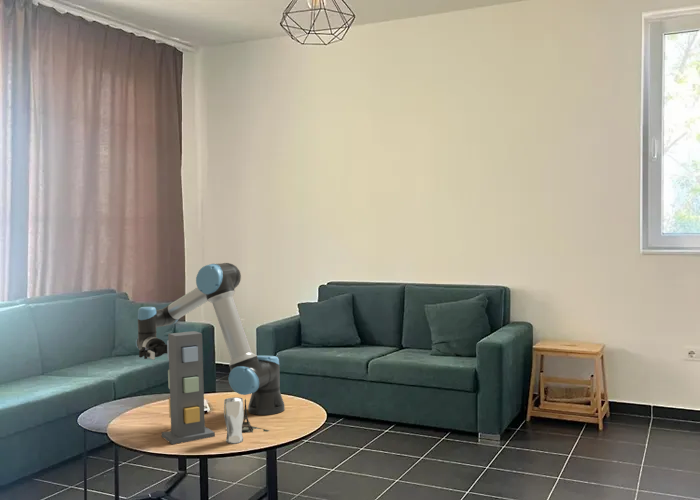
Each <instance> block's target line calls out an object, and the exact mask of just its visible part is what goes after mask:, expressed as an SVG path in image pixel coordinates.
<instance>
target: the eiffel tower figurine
mask: <svg viewBox="0 0 700 500" xmlns="http://www.w3.org/2000/svg"><path fill="white" fill-rule="evenodd" d="M247 409H248V408H247V400H246V398H244V416H243V424H242V434H246V433H247V434H248V433H254V430H263V432H270V431H271V430H269V429H265V428H261V427H257V426H252V424H251V422H250V420H249V417H248V410H247ZM225 431H226V432H227V428H226V429H225Z"/></svg>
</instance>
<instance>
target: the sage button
mask: <svg viewBox="0 0 700 500" xmlns="http://www.w3.org/2000/svg"><path fill="white" fill-rule="evenodd" d="M167 377H168V378H167V381H168V383H167V384H168V386H167V387H168V389H169V390H170V375H169V369H168V370H167ZM182 387H183V392H184V393H190V392H196V391H199V377H197V376H188V377H182Z"/></svg>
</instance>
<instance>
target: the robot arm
mask: <svg viewBox="0 0 700 500" xmlns="http://www.w3.org/2000/svg"><path fill="white" fill-rule="evenodd" d="M241 280H242V275H241V271H240V269H239V268H238V267H237V265H235V264H233V263H229V262H224V263H221V262H220V263H211V264H207V265H206V264H205V265H204V266H202V267H201V268H200V269H199V270H198V272H197V275H196V277H195V284H196V287H195V288H194V289H192V290H191V291H189V292H187V293H185V294H184V295H183V296H181V297H179V298H177V299H176V300H174V301H173V302H172V303H170V304H168V305H167V306H165V307H163V308H160V309H157V308H156V307H155V306H141V307H139V308H138V309H137V338H136V339H135V347H136V348H137V349H138V350H139V351H138V356H139V357H138V358H143V357H144V359H143V360H148V358H149V359H151V360H155V359H156V358H159V357H161V356H163V355H165V354H167V343H165V341H163V340H162V339H160V338H158V337H157V328H160V327H161V328H162V327H165V326H172V325H174V324H176V323H177V322H178V321H179V319H181V318H182V317H184V316H186V315H187V314H189V313H191V312H193V311H194V310H196V309H197V308H199V307H200V306H203V305H204V304H206V303H207V302H210V303H211V304H212V307H213V310H214V311H215V315H216V317H217V321H218V324H219V327H220V331H221V332H222V336H223V339H224V342H225V345H226V348H227V351H228V353H229V357H230V362H229V364H228V366H229V369H230V372H229V375H228V378H227V379H228V384H229V385H230V388H231V389H232V391H234V392H235V393H237V394H239V395H243V396H246V395H250V399H249V402H248V406H247V409H248V410H247V413H249V414H252V415H255V416H256V415H258V416H265V415H266V416H267V415H268V416H269V415H275V414H276V415H277V414H279V413H282V412H284V411H285V409H286V408H285V402H284V399H283V396H282V394H281V386H280V385H281V384H280V382H281V381H280V379H281V378H280V359H279V357H278V356H275V355H257V354H255V353H253V352H252V349H251V346H250V343H249V340H248V337H247V334H246V332H245V328H244V325H243V322H242V319H241V316H240V313H239V310H238V308H237V305H236V302H235V299H234V295H235V292H236V290H235V289H236V288H237V287H238V286H239V285H240V283H241Z"/></svg>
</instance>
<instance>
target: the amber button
mask: <svg viewBox="0 0 700 500" xmlns="http://www.w3.org/2000/svg"><path fill="white" fill-rule="evenodd" d="M168 412H169V413H168V414H169V415H168V417H169V418H170V419H171V408H170V398H168ZM183 421H184V422H185V423H186V424H188V423H193V422H199V421H200V408H199V407H198V406H191V407H185V408H183Z"/></svg>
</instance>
